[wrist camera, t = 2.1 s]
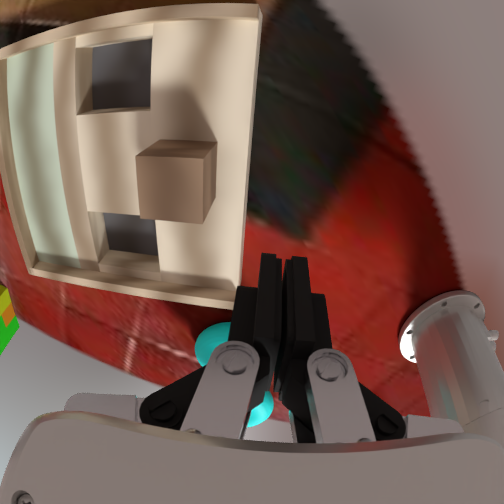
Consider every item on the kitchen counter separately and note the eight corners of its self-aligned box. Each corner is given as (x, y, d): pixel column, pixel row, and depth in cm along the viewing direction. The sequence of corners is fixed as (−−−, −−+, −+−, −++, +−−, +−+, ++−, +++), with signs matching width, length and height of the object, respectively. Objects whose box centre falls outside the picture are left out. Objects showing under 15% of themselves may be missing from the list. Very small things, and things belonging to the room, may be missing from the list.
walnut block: (217, 141, 22) (203, 158, 18) (215, 197, 24) (202, 224, 21) (159, 139, 22) (135, 156, 18) (161, 192, 24) (140, 218, 21)
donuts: (215, 377, 26) (292, 416, 29) (230, 303, 34) (293, 345, 37) (163, 406, 31) (232, 438, 34) (183, 341, 39) (241, 375, 42)
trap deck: (262, 15, 19) (258, 4, 15) (241, 280, 32) (235, 310, 29) (20, 48, 19) (-10, 53, 16) (48, 252, 33) (29, 274, 29)
